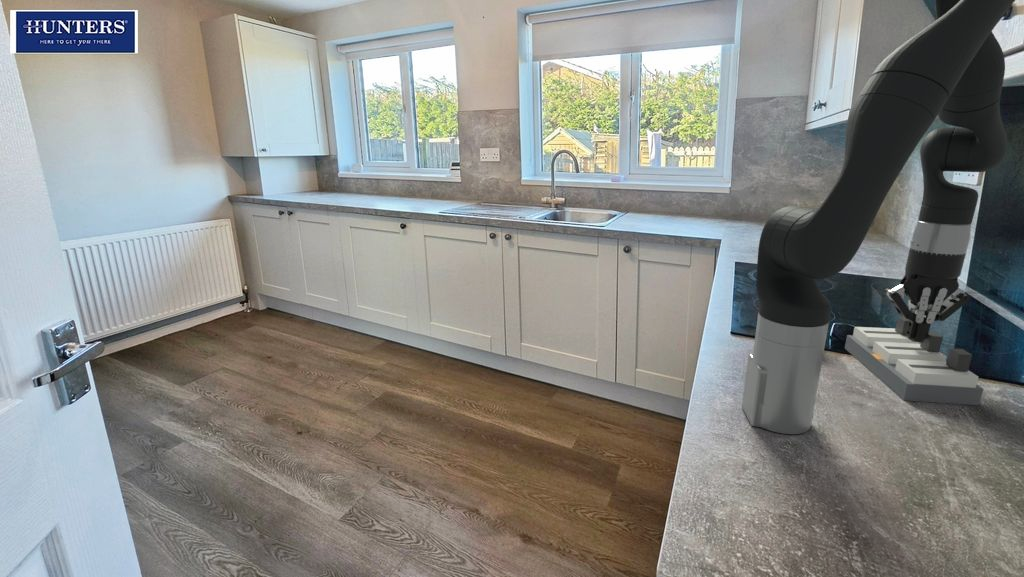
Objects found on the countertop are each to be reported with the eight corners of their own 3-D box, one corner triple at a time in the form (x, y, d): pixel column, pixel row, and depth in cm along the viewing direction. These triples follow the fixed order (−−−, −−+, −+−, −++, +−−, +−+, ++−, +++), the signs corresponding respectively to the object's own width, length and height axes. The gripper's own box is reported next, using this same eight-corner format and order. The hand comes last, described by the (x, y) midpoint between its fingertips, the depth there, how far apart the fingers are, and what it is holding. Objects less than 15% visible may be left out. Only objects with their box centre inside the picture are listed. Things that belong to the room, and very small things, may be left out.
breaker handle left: (901, 335, 97) (904, 320, 96) (894, 330, 99) (897, 316, 98) (911, 335, 97) (915, 321, 96) (904, 331, 99) (908, 317, 98)
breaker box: (903, 400, 83) (909, 372, 82) (844, 348, 104) (848, 325, 102) (978, 405, 81) (986, 377, 79) (903, 351, 102) (908, 328, 100)
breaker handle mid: (927, 351, 89) (931, 336, 88) (920, 346, 92) (923, 331, 91) (939, 352, 89) (943, 336, 88) (931, 346, 91) (934, 331, 90)
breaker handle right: (955, 370, 82) (959, 354, 81) (945, 364, 84) (950, 348, 83) (967, 371, 81) (972, 354, 81) (958, 365, 84) (962, 349, 83)
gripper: (907, 251, 83) (885, 346, 88) (998, 253, 81) (970, 351, 86) (883, 242, 90) (865, 331, 95) (966, 244, 88) (943, 335, 93)
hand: (915, 340), depth 90 cm, fingers closed
